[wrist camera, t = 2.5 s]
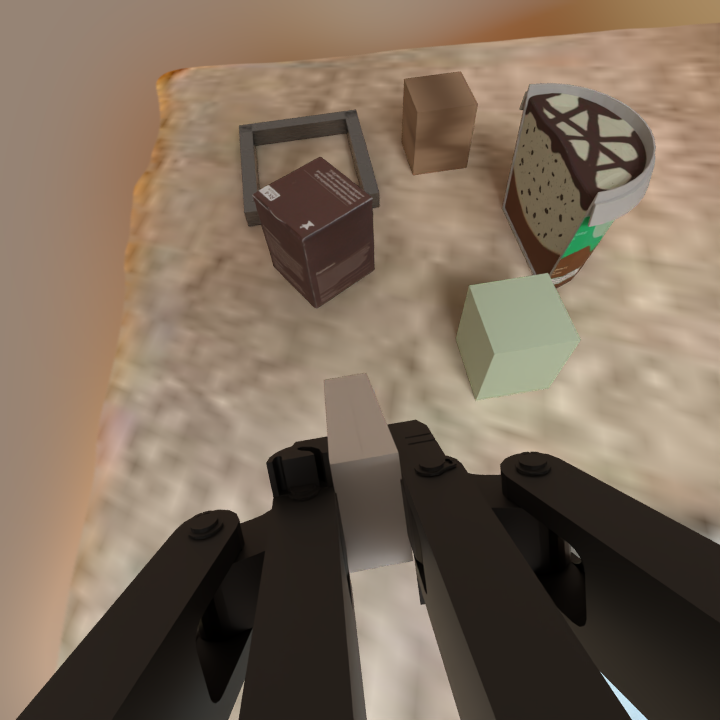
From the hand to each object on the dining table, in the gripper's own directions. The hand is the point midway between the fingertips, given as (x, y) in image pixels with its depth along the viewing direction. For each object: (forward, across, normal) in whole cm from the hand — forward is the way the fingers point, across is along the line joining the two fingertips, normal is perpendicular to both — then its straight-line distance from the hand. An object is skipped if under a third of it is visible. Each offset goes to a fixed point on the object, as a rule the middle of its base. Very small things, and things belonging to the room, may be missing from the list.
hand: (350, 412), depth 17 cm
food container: (+22, +19, +3) cm, 30 cm away
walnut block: (+31, +12, +12) cm, 36 cm away
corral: (+31, 0, +12) cm, 34 cm away
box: (+23, 0, +4) cm, 23 cm away
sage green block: (+15, +11, -4) cm, 19 cm away
